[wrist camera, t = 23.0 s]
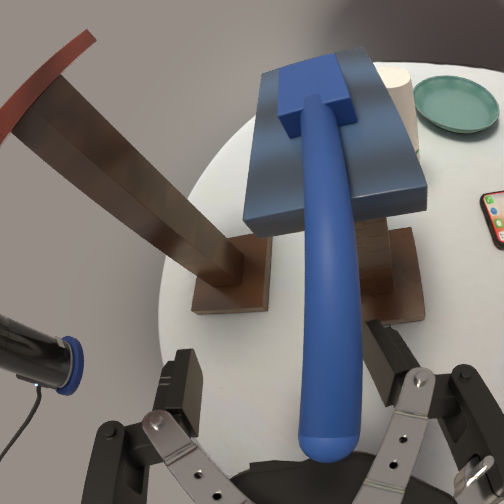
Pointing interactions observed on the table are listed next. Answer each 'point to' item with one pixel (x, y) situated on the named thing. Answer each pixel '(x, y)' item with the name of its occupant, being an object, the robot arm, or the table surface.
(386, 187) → the blue-topped display stand
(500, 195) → the smartphone
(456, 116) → the saucer
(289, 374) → the table surface
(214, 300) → the wooden pedestal stand
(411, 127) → the tube
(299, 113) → the blue rod with block
